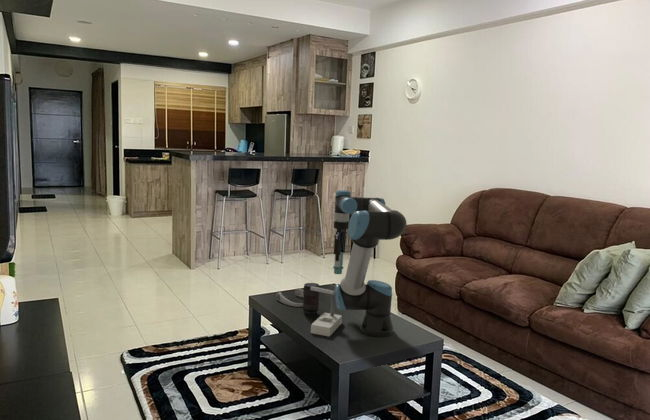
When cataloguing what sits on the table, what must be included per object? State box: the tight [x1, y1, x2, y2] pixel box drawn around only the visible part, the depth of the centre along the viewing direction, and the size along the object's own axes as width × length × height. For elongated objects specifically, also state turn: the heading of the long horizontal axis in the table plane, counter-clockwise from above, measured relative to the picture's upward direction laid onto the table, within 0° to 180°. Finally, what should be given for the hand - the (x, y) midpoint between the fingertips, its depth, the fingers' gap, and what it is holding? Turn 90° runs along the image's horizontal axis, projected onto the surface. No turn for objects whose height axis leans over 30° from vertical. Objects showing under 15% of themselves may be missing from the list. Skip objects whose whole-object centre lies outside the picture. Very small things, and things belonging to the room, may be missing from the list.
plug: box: [332, 252, 344, 275], centre depth 255 cm, size 5×5×11 cm
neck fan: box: [276, 287, 304, 308], centre depth 269 cm, size 18×17×5 cm
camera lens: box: [302, 282, 321, 317], centre depth 251 cm, size 8×8×15 cm
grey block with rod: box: [310, 294, 343, 337], centre depth 232 cm, size 9×18×14 cm, turn 161°
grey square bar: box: [310, 286, 335, 296], centre depth 240 cm, size 2×13×2 cm, turn 64°
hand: (338, 265), depth 256 cm, fingers closed on plug, 4 cm apart
